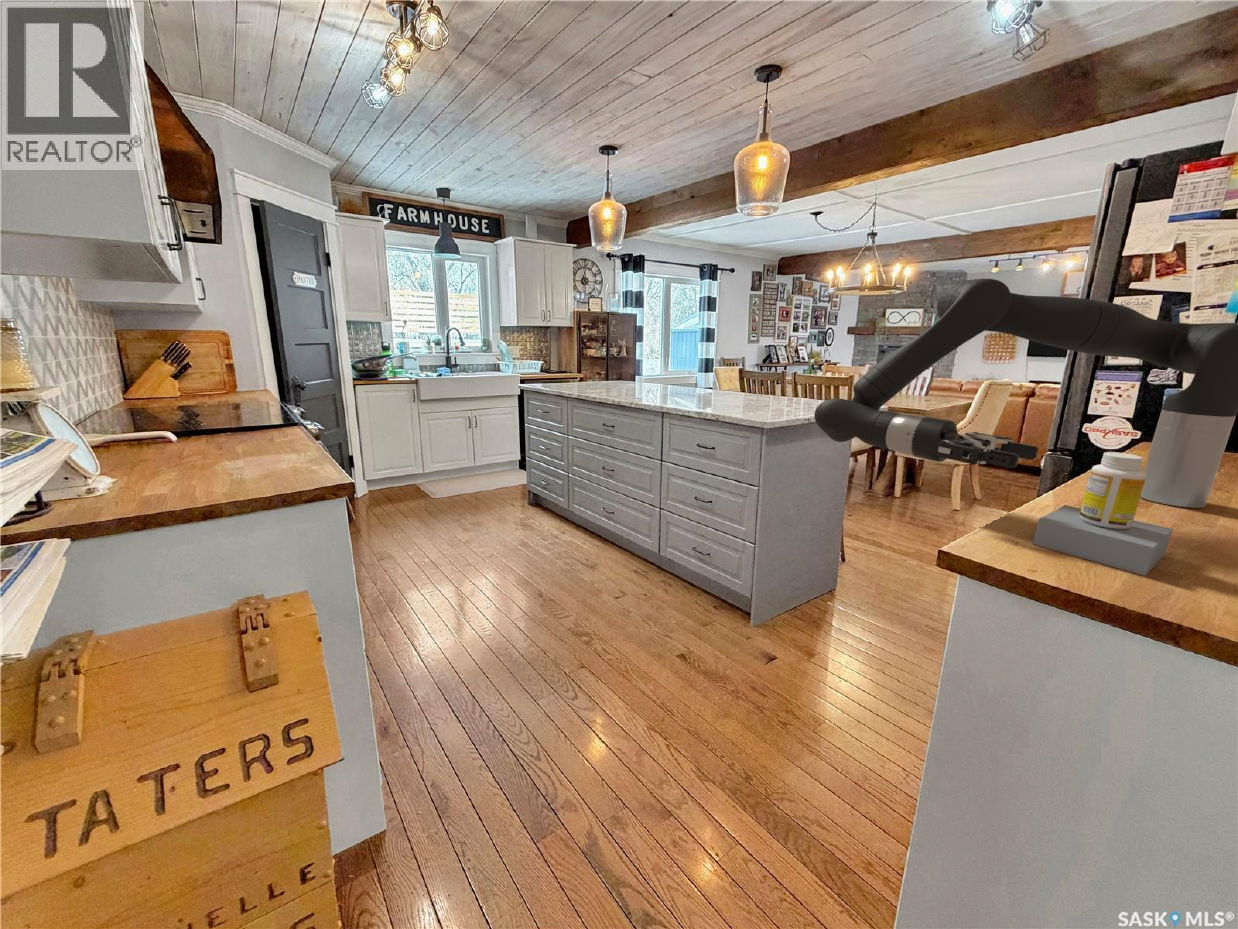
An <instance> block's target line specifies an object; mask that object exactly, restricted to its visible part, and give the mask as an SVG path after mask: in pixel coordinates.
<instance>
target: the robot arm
mask: <svg viewBox="0 0 1238 929" xmlns="http://www.w3.org/2000/svg"><path fill="white" fill-rule="evenodd" d="M1010 290H1011V289H1009V286H1007V284H1005V283H1004V282H1003V281H1001V280H998V279H994V278H985V277H984V278H975V279H968V280H963V281H960V282H958V283H955V284H953V285H951V286H950V287H948V288H947V289H946V290H944V291H943V293H942V294H941V295H940V296H939V298H938V300H937V303H936V311H937V312H936V313H937V314H938V317H939V319H938V320H937V321H936V322H934V323H933V324H932V325H931V326H929V327H928V328H927V329H926V330H925V331H924V332H922V333H921V334H920V335H918V336H916V337H915V338H914V339H912V340H911V341H909V342H907V343H906V344H904V345H903V346H900V347H899V348H898V349H896V350H894V351H893V352H891V353H890V354H888V355H887V356H886V357H884V358H883V359H882V360H880V361H879V362H877V363H876V364H875V365H874V366H873V367H872V368H871V369H869V370H868V371H867V372H866V373H865V374H863V375H862V377H860V378H859V379H858V380H857V381H856V382H855V383H854V384H853V390H852V391H853V397H852V399H851V400H849V399H844V398H829V399H826V400H823V401H822V402H821V403H819V405H818V406H817V407H816V408H815V410H814V421H815V423H816V425H817V427H819V429H821V430H822V431H823V432H824V434H825V435H827V436H828V437H829V438H830V440H832V441H834V442H837V443H844V442H848V441H851V440H852V439H855V438H858V439H859V440H860V441H861V442H863V443H865V444H867V445H869V446H873V447H877V448H881V449H886V450H890V451H894V452H895V453H899V454H902V455H906V456H911V457H915V458H919V459H923V460H928V461H932V462H938V463H942V462H945V461H946V460H948V459H949V460H952V461H957V462H960V463H965V464H970V465H972V466H974V465H978V464H979V465H986V464H990V465H993V466H994V465H995V466H999V467H1004V468H1007V469H1015V468H1016V467H1018V463H1019V459H1023V460H1031V461H1033V460H1035V459H1037V456H1038V453H1039V450H1040V448H1039V447H1038V446H1036V445H1030V444H1025V443H1019V442H1014V441H1012V438H1010V437H1009V436H1005V437H1004V436H999V435H994V434H987V433H983V432H982V433H980V432H978V431H972V432H965V433H964V434H959V433H958V427H957V424H956V422H954V421H952V420H950V419H943V418H938V417H932V416H926V415H920V414H919V415H918V414H911V413H898V412H893V411H886V410H881V408H882V407H883V406H884V405H885V404H886V403H887V402H888V401H890V400H891V399H893V398H894V397H895V396H896V395H897V394H899V392H901V391H902V390H903V389H905V387H907V386H908V385H910V383H911V382H913V381H914V380H915V379H916V378H918V377H919V376H920V375H921V374H923V373H924V372H925V371H927V370H928V369H929V368H930V367H932V366H934V365H935V364H936V363H938V361H940V360H942V359H944V357H946V356H947V355H949V354H950V353H952V352H953V351H955V350H957V349H958V348H960V347H961V346H963V344H966V343H967V342H968V341H970V340H971V339H973V338H975V337H976V336H978V335H980V334H981V333H984V332H995V333H1001V334H1007V335H1011V336H1015V337H1017V338H1021V339H1024V340H1027V341H1031V342H1034V343H1039V344H1042V345H1046V346H1050V347H1055V348H1059V349H1063V350H1066V351H1073V352H1077V353H1083V354H1088V355H1094V356H1095V355H1096V356H1102V357H1103V356H1104V357H1105V356H1106V357H1114V358H1115V357H1117V358H1130V359H1131V358H1132V359H1137V360H1140V361H1144V362H1149V363H1151V364H1155V365H1158V366H1162V367H1165V368H1168V369H1172V370H1175V371H1177V372H1181V373H1184V374H1185V373H1186V374H1190V375H1194V376H1193V378H1192V380H1191V383H1190V384H1189V385H1188V386H1187V387H1186V388H1184V389H1183V390H1180V391H1177V392H1175V393H1170V394H1168V395H1167V396H1166V397H1165V399H1164V401H1163V405H1162V407H1161V411H1160V415H1159V419H1158V421H1157V425H1156V428H1155V432H1154V434H1153V438H1152V441H1151V445H1150V448H1149V451H1148V454H1147V457H1146V461H1145V464H1144V467H1143V472H1144V473H1145V474H1146V479H1145V482H1144V486H1143V489H1142V492H1141V496H1140V499H1145V500H1148V501H1151V502H1154V503H1158V504H1163V505H1169V506H1174V507H1182V508H1183V507H1184V508H1191V509H1193V508H1194V509H1201V508H1205V507H1206V504H1207V502H1208V500H1209V499H1208V498H1209V497H1210V494H1211V491H1212V487H1213V485H1214V482H1215V478H1216V475H1217V473H1218V471H1219V467H1220V464H1221V461H1222V459H1223V455H1224V454H1225V450H1226V447H1227V444H1228V441H1229V438H1230V435H1231V431H1232V428H1233V426H1234V422H1235V420H1236V418H1237V417H1236V416H1237V414H1238V322H1216V323H1215V322H1213V323H1211V322H1209V323H1207V322H1205V323H1190V322H1189V323H1187V322H1176V321H1175V322H1174V321H1168V320H1167V321H1166V320H1160V319H1159V320H1158V319H1155V318H1150V317H1148V316H1146V315H1144V314H1142V313H1140V312H1139V311H1138V310H1135V309H1133V308H1131V307H1127V306H1125V305H1122V304H1118V303H1113V302H1110V301H1109V302H1108V301H1103V300H1096V299H1093V298H1092V299H1090V298H1084V297H1083V298H1081V297H1071V296H1070V297H1069V296H1056V295H1055V296H1053V295H1051V296H1050V295H1045V296H1043V295H1026V294H1019V293H1014V292H1011V291H1010ZM997 444H1000V446H999V447H998V446H996V445H997Z"/></svg>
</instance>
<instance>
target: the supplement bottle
mask: <svg viewBox="0 0 1238 929" xmlns="http://www.w3.org/2000/svg"><path fill="white" fill-rule="evenodd" d="M1143 460H1144V459H1143V457H1142V456H1140V455H1136V454H1130V453H1124V452H1118V451H1117V452H1116V451H1107V452H1103V456H1102V458H1101V461H1100V464H1096V465H1093V466H1092V468H1091V470H1090V474H1089V478H1088V481H1087V485H1086V489H1085V493H1084V496H1083V500H1082V504H1081V511H1080V518H1081V519H1082V520H1083V521H1085V522H1087V523H1090V524H1093V525H1096V526H1100V527H1105V528H1111V529H1127V528H1129V527H1131V525H1132V522H1133V520H1134V519H1135V516H1136V512H1137V509H1138V505H1139V502H1140V499H1141V497H1140V496H1141V492H1142V489H1143V486H1144V482H1145V479H1146V474H1145V473H1144V472H1143V471H1142V470H1140V469H1141V468H1142V463H1143Z"/></svg>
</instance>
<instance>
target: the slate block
mask: <svg viewBox="0 0 1238 929" xmlns="http://www.w3.org/2000/svg"><path fill="white" fill-rule="evenodd" d="M1080 511H1081V508H1080V507H1076V506H1073V505H1072V506H1071V505H1067V504H1065V505H1062V506H1060V507H1059V508H1057V509H1054V510H1053V511H1051V512H1049V513H1047V514H1045V515H1044V516H1042V517H1040V518H1039V519H1038V522H1037V526H1036V528H1035V534H1034V538H1033V541H1032V545H1034V544H1035V546H1039V547H1042V548H1045V549H1048V550H1049V549H1050V550H1052V551H1056V552H1060V553H1063V554H1066V555H1071V556H1073V557H1076V558H1081V559H1084V560H1088V561H1091V562H1095V563H1098V564H1101V565H1104V566H1105V565H1106V566H1108V567H1112V568H1116V569H1118V570H1123V571H1126V572H1130V573H1134V574H1137V575H1140V576H1142V577H1143V576H1144V577H1146V575H1147V574H1149V572H1150V571H1151V570H1152V569H1153V568H1154V567H1155V566H1156V565H1157V564H1158V563H1159V561H1160V560H1161V559H1162V558H1163V557H1164V556H1165V554H1166V552H1167V549H1168V545H1169V543H1170V539H1171V536H1172V533H1173V530H1174V529H1173V528H1169V527H1165V526H1161V525H1156V524H1153V523H1147V522H1144V521H1139V520H1134V519H1133V522H1132V525H1131V527H1129V528H1127V529H1111V528H1105V527H1100V526H1096V525H1093V524H1090V523H1087V522H1085V521H1083V520H1082V519H1081V518H1080Z"/></svg>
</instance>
